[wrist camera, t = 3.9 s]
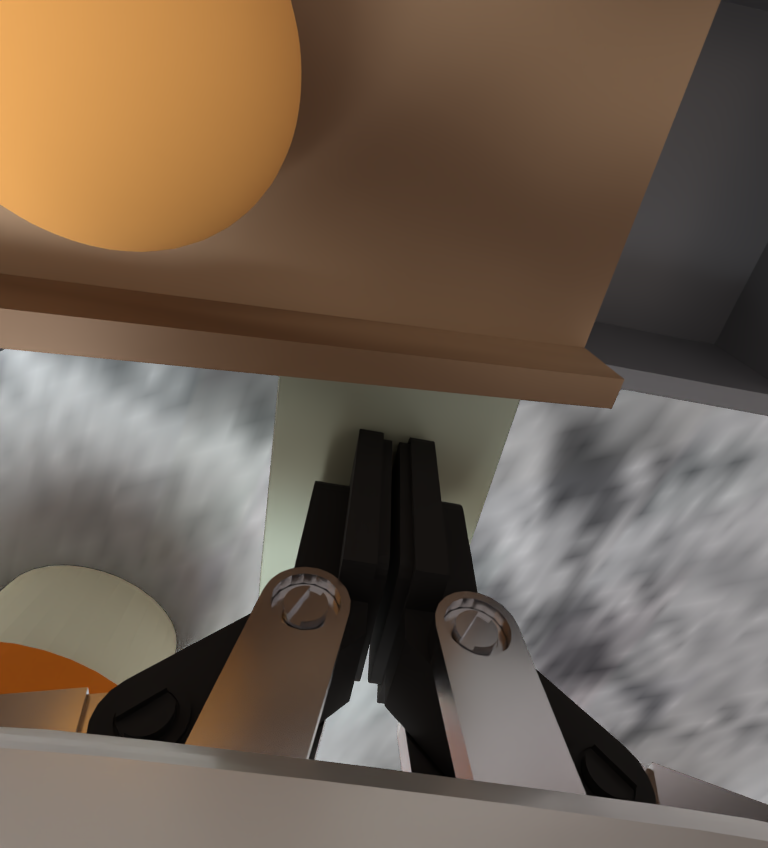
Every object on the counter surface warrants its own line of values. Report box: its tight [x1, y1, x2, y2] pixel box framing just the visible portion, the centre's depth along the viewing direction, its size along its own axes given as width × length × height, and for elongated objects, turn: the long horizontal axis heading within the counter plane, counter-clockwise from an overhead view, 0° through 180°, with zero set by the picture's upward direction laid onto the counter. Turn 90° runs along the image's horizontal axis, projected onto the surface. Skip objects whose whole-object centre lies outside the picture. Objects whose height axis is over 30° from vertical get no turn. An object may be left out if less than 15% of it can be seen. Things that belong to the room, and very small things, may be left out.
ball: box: [0, 0, 301, 252], centre depth 6 cm, size 4×4×4 cm
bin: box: [585, 0, 768, 416], centre depth 14 cm, size 10×10×5 cm
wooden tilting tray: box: [0, 0, 721, 596], centre depth 9 cm, size 15×16×3 cm
